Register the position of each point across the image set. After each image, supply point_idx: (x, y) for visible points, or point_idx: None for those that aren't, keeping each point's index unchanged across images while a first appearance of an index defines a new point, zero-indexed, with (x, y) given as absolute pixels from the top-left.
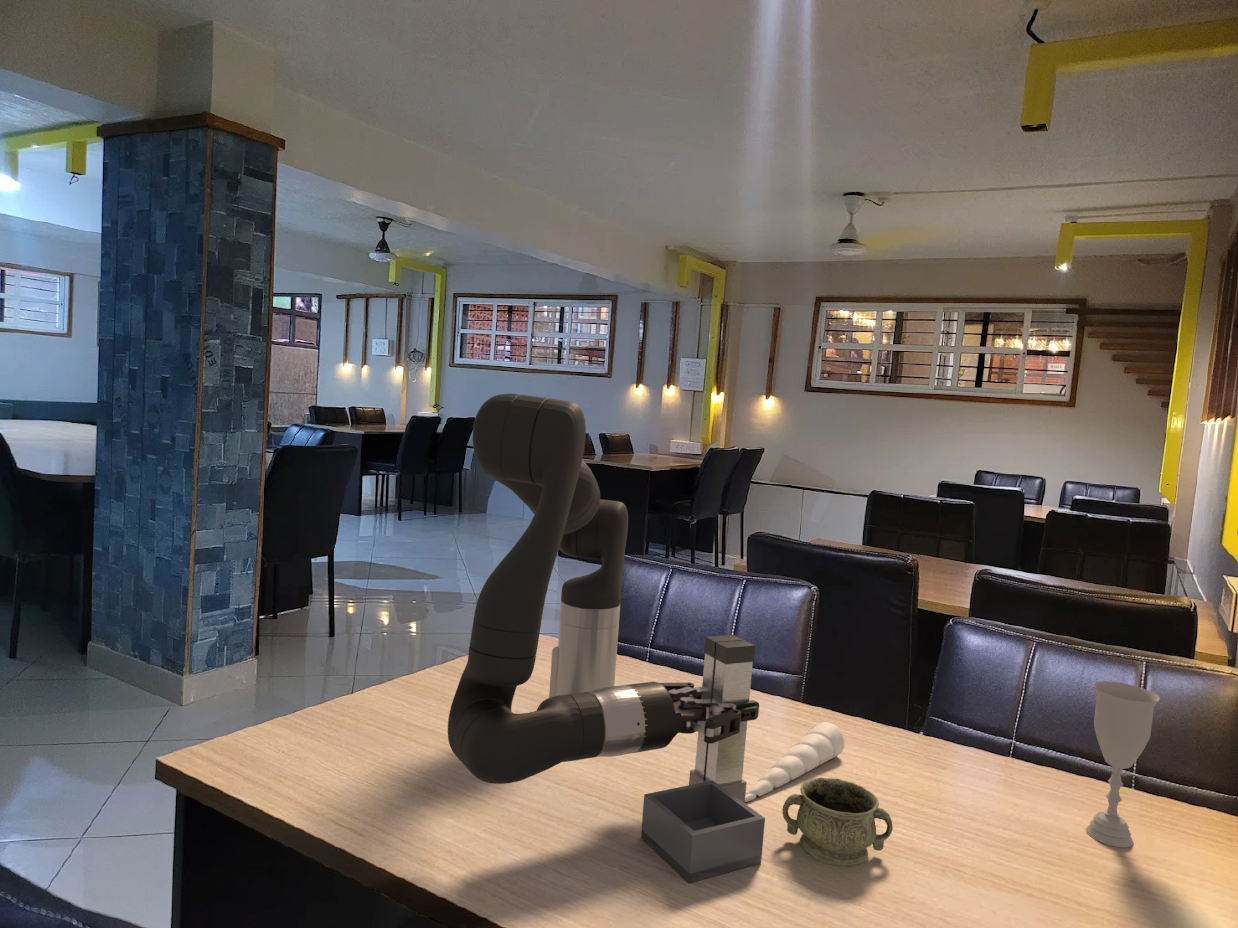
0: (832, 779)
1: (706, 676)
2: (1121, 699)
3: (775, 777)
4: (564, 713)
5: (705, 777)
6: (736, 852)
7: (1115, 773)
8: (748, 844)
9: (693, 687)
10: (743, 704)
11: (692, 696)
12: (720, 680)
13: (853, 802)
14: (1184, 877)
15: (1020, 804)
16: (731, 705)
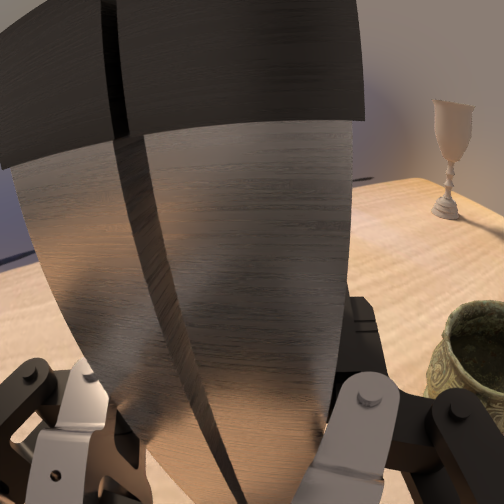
0: (449, 323)
1: (96, 327)
2: (470, 106)
3: None
4: None
5: None
6: None
7: (452, 166)
8: None
9: (53, 378)
10: (355, 333)
11: (106, 477)
12: (284, 321)
13: (460, 329)
14: (489, 217)
15: (397, 220)
16: (382, 397)
